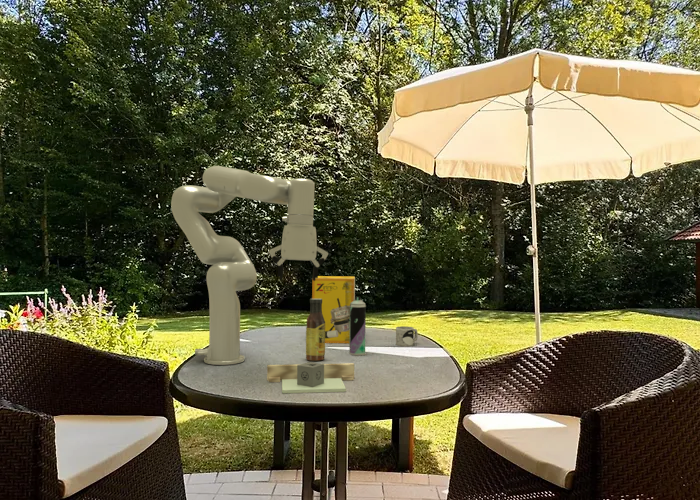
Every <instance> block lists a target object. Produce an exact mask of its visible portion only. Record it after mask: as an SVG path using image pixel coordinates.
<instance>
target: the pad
mask: <svg viewBox="0 0 700 500" xmlns="http://www.w3.org/2000/svg"><path fill="white" fill-rule="evenodd" d="M281 390H282V391H281V394H304V393H305V394H306V393H307V394H309V393H310V394H311V393H312V394H313V393H344V392H347V388H346V385H345V384H344V381H343V380H342V379H341V378H325V379H324V383H323V384H320V385H318V386H315V387H308V386H303V385H297V379H282V380H281Z"/></svg>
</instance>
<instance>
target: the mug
mask: <svg viewBox="0 0 700 500" xmlns="http://www.w3.org/2000/svg"><path fill="white" fill-rule="evenodd" d="M418 336H419V335H418V330H417V328H414V327H412V326H397V327H395V346H397V347H405V348H406V347H407V348H408V347H413V346H414V343H415V342H416V341H418Z"/></svg>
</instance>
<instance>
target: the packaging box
mask: <svg viewBox="0 0 700 500" xmlns="http://www.w3.org/2000/svg"><path fill="white" fill-rule="evenodd" d="M311 283H312V285H311V286H312V289H311V290H312V293H311V294H312V295H311V299H322V314H323V317H324V320H325V344H349V343H350V303H351V302H353V301H354V300H355V296H356V294H355V293H356V286H355V285H356V277H355V276H350V275H349V276H346V275H345V276H342V275H341V276H336V275H335V276H334V275H331V276H329V275H328V276H325V275H324V276H323V275H318V278H316V279H315V281H314V280H313V277H312V282H311Z"/></svg>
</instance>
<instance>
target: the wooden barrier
mask: <svg viewBox="0 0 700 500" xmlns="http://www.w3.org/2000/svg"><path fill="white" fill-rule="evenodd" d="M300 364H301V363H298V364H297V363H296V364H267V367H266V370H267V371H266V381H268V383H280V382H281V381H282V379H297V365H300ZM323 364H324V379H325V378H341V379H342V381H343V382H345V381H354V379H355V363H354V362H351V363H350V362H346V363H323Z"/></svg>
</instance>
